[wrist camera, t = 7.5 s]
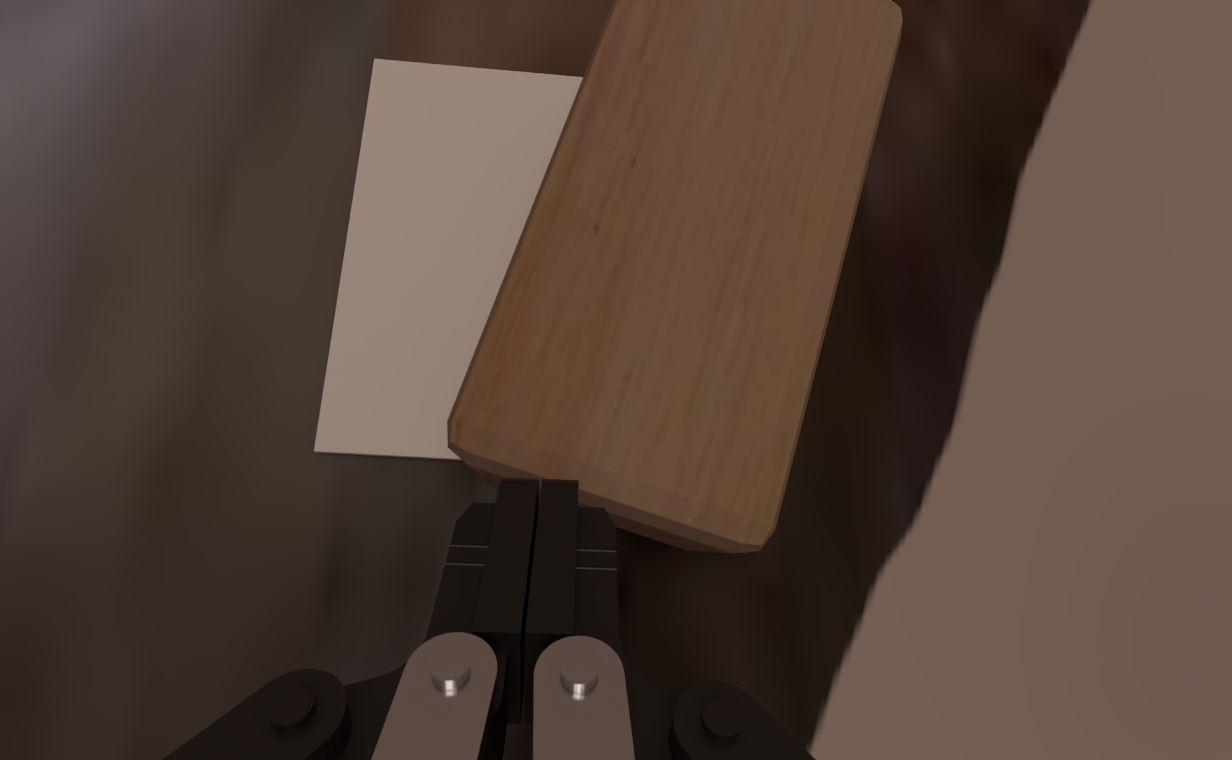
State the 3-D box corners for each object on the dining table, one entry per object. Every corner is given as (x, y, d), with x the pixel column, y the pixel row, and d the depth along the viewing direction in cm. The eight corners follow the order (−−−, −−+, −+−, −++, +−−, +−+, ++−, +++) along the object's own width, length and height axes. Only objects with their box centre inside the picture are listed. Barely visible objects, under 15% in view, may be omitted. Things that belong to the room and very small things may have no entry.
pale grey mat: (318, 452, 28) (314, 451, 28) (377, 66, 33) (374, 58, 32) (783, 477, 29) (787, 476, 29) (778, 101, 34) (781, 95, 33)
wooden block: (475, 481, 28) (621, 91, 33) (703, 557, 28) (815, 155, 33) (427, 449, 18) (645, -98, 23) (776, 565, 18) (920, -8, 23)
